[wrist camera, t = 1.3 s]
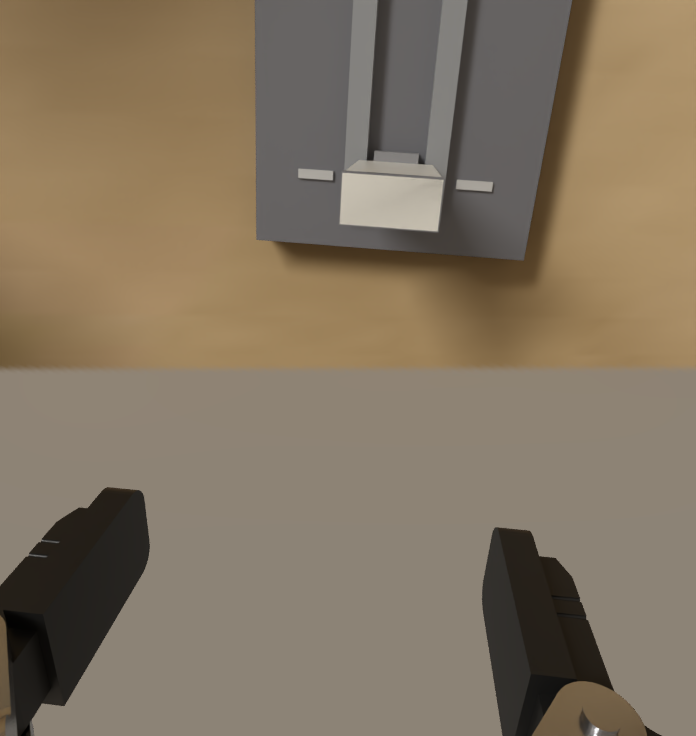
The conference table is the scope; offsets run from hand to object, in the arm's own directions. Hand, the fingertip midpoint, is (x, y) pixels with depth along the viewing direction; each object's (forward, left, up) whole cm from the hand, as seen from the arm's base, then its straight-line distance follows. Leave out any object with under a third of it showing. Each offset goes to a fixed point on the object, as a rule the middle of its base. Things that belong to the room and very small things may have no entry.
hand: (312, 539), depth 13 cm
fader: (+1, +6, -24) cm, 24 cm away
